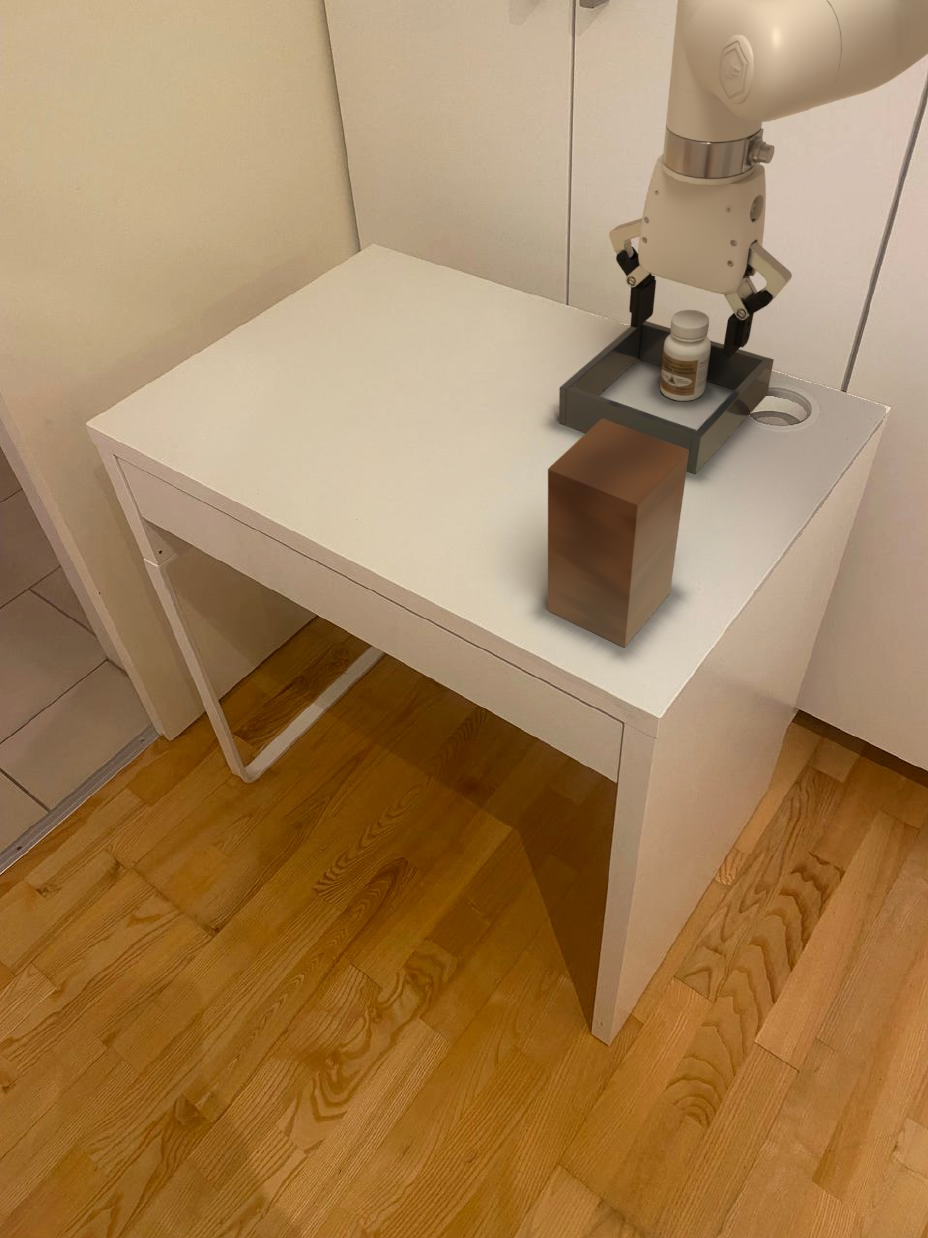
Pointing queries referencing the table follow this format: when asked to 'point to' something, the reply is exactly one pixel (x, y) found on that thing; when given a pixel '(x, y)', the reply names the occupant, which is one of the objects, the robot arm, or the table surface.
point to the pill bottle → (686, 356)
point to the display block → (613, 529)
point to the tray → (588, 408)
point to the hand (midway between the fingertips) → (686, 335)
